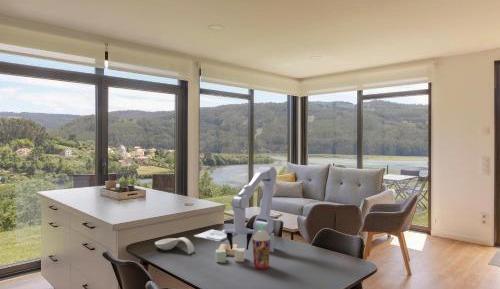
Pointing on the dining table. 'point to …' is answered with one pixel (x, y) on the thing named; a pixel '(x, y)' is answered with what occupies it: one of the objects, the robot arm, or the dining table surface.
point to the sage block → (220, 255)
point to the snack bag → (213, 235)
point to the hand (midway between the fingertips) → (239, 248)
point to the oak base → (229, 248)
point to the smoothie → (261, 249)
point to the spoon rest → (171, 242)
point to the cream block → (239, 254)
